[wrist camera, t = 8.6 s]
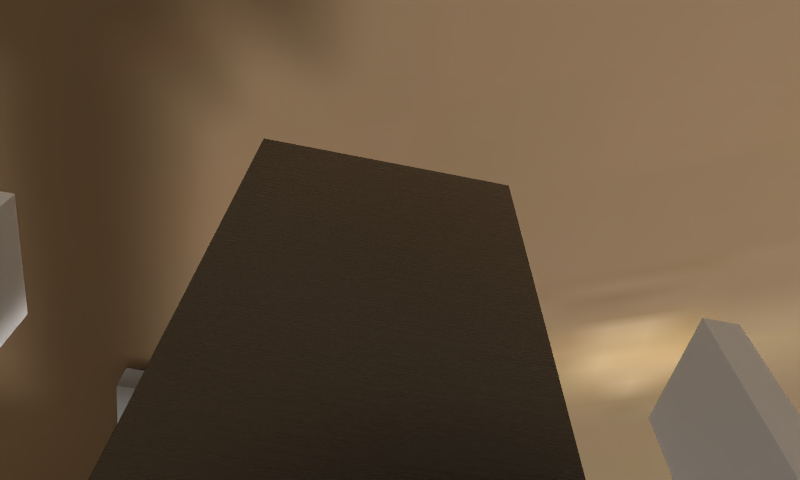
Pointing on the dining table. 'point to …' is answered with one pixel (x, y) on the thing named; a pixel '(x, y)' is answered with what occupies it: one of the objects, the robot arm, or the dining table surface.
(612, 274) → the dining table surface
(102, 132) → the dining table surface
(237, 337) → the grey mallet
